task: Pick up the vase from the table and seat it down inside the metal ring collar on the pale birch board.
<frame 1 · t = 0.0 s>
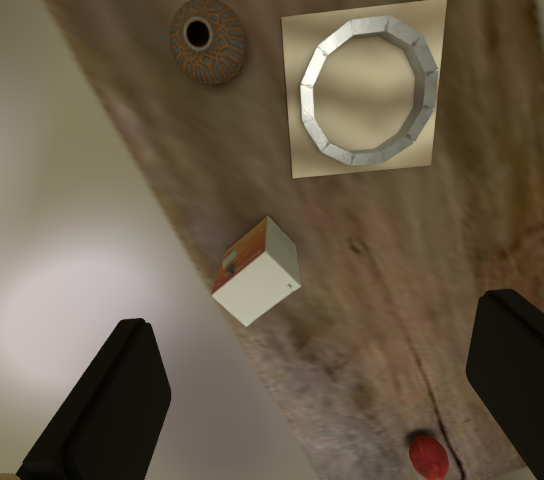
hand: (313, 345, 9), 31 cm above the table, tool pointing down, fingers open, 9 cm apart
onion: (418, 434, 57), on the table
ring collar: (362, 97, 35), resting on birch board
birch board: (360, 97, 35), on the table
vase: (215, 49, 34), on the table
small box: (259, 247, 43), on the table
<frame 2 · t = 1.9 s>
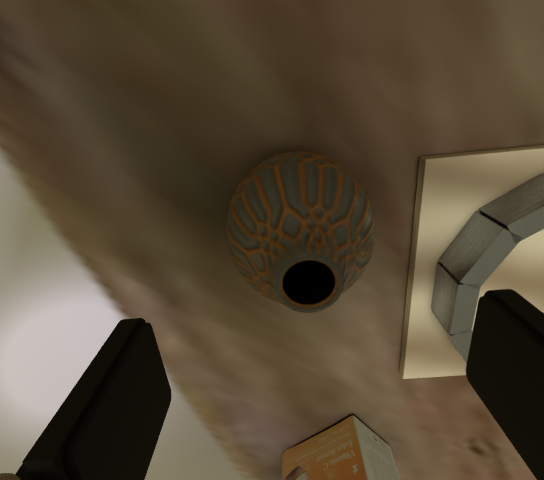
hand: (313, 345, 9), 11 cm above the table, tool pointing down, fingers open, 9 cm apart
birch board: (534, 270, 21), on the table
vase: (294, 201, 19), on the table
small box: (334, 445, 29), on the table
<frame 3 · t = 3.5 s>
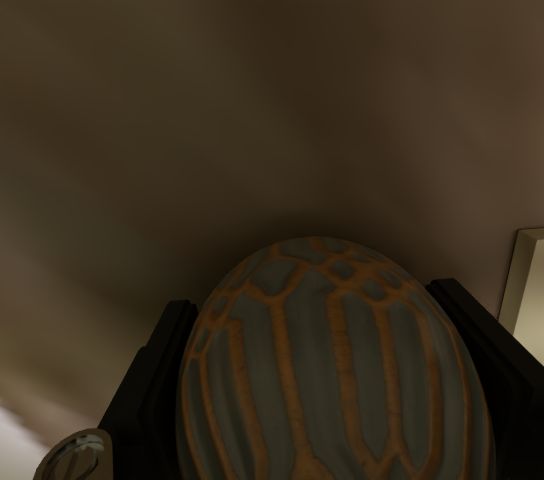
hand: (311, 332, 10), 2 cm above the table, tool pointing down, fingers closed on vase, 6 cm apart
vase: (305, 296, 12), on the table, touching gripper
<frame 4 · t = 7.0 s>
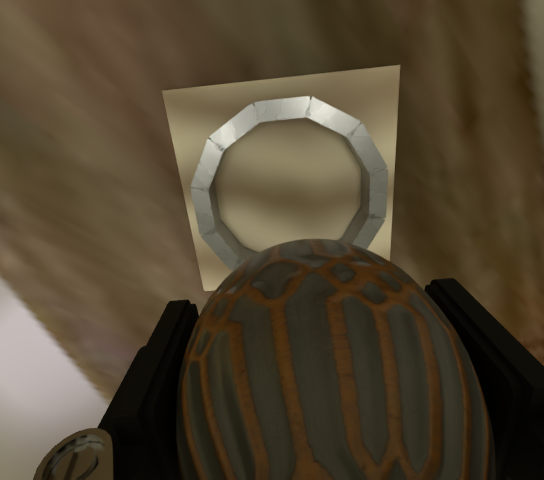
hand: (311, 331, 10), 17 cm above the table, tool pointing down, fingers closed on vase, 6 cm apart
ring collar: (288, 193, 25), resting on birch board
birch board: (287, 191, 25), on the table
vase: (305, 297, 12), point 15 cm above the table, touching gripper
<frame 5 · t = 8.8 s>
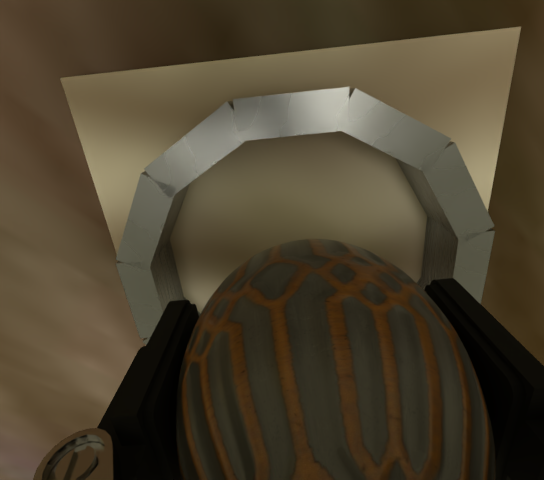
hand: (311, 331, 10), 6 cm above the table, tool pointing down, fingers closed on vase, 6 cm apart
ring collar: (298, 258, 14), resting on birch board
birch board: (297, 250, 15), on the table
vase: (305, 298, 12), point 4 cm above the table, touching gripper
when the fingers open (4 cm above the table, at t = 10.2 s): vase drops 1 cm, resting on birch board.
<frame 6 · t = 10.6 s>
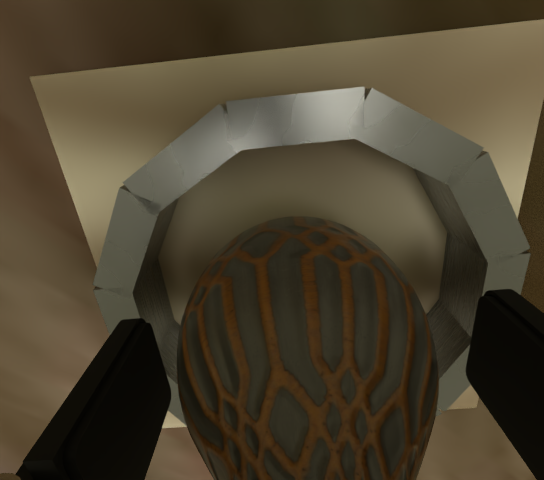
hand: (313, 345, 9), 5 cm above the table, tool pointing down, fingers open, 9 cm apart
ring collar: (302, 278, 13), resting on birch board
birch board: (300, 269, 14), on the table
vase: (293, 274, 13), point 1 cm above the table, touching birch board
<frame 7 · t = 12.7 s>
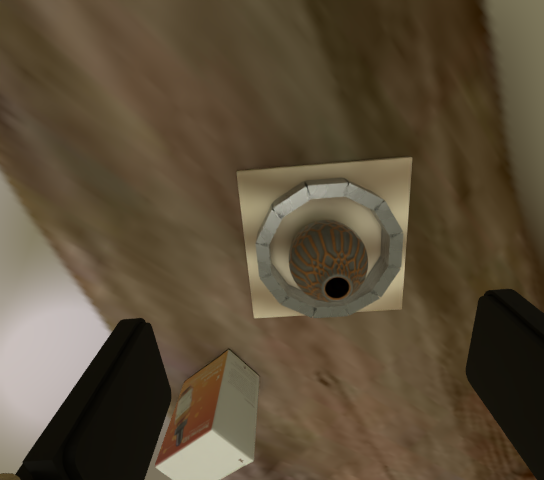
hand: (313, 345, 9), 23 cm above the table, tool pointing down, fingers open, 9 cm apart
ring collar: (325, 245, 32), resting on birch board
birch board: (324, 242, 33), on the table
vase: (321, 244, 32), point 1 cm above the table, touching birch board
small box: (221, 377, 40), on the table
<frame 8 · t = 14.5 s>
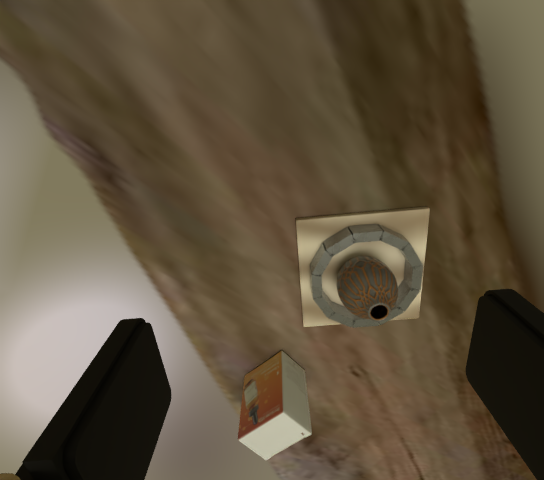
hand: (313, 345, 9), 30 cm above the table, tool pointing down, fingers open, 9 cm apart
ring collar: (361, 272, 42), resting on birch board
birch board: (360, 269, 43), on the table
vase: (358, 271, 42), point 1 cm above the table, touching birch board
small box: (274, 371, 50), on the table
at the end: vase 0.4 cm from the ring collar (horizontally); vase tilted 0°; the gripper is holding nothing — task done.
